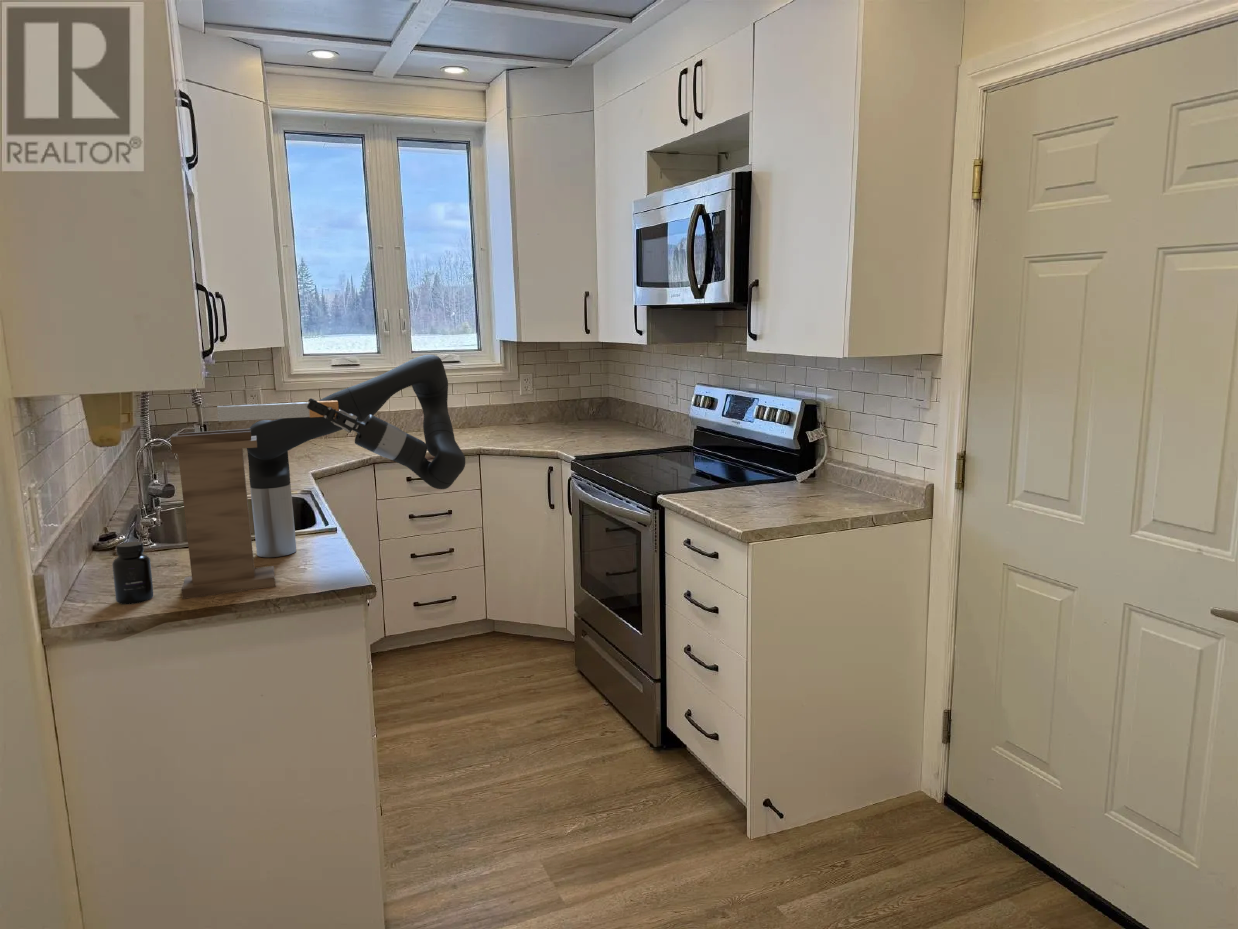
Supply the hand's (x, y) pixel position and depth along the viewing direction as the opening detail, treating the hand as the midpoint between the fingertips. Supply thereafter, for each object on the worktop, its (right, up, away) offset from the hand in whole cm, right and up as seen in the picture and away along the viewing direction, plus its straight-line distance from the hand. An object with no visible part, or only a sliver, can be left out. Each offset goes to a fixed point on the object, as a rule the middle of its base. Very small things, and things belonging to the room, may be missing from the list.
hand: (308, 402), depth 181 cm
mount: (-17, -40, 0) cm, 43 cm away
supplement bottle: (-33, -42, -8) cm, 54 cm away
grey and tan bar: (-6, -3, -2) cm, 7 cm away
